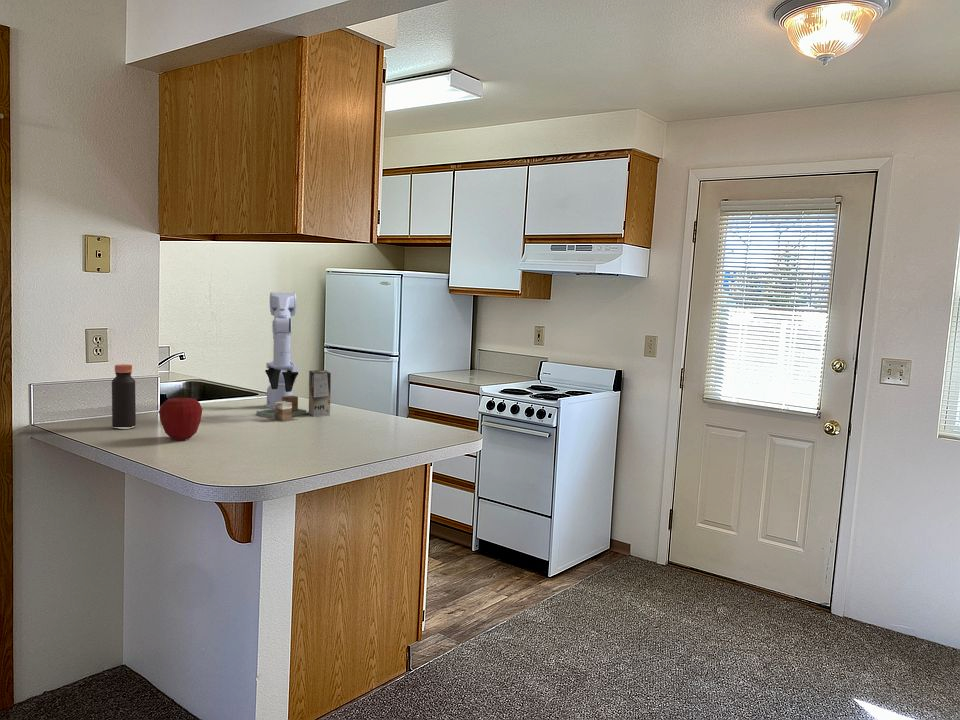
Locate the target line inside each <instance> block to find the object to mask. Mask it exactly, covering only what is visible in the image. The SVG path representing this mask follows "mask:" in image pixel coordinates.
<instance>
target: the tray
mask: <svg viewBox="0 0 960 720" xmlns="http://www.w3.org/2000/svg"><path fill="white" fill-rule="evenodd" d="M306 414H307V410H306V409H302V408H298V411H296V412H292V416H293V417H294V416H300V415H306ZM256 415H257V416H261V417H267V418H269V419H275V408H270V409H264V410H263V409H262V410H256Z"/></svg>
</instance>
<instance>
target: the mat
mask: <svg viewBox="0 0 960 720" xmlns="http://www.w3.org/2000/svg"><path fill="white" fill-rule="evenodd" d="M298 420H299V419H298V418H293V417H292V420H286V421H279V420H275V418H269V421H274V422H278V423H286V422H293V421H298Z"/></svg>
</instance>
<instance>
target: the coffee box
mask: <svg viewBox="0 0 960 720" xmlns="http://www.w3.org/2000/svg"><path fill="white" fill-rule="evenodd" d="M331 375H332V373H331V372H330V371H328V370H325V369H324V370H323V369H321V370H308V414H309V415H311V416H312V417H330V416H331V392H332V391H331V386H332V385H331V381H332V380H331V378H332V377H331Z"/></svg>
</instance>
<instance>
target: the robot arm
mask: <svg viewBox="0 0 960 720" xmlns="http://www.w3.org/2000/svg"><path fill="white" fill-rule="evenodd" d="M296 308H297V294H296V292H273V291H271V292H270V293H269V311H270V314H271V316H273V320H272V321H271V322H272V326H271V329H272V330H271V331H272V339H273V357H272V358H273V360H272V361H271V362H266V364H265V365H266V366H265V368H266V369H265V370H264V371H265V374H266V375H267V377H268V382H269V384H270V385H268V386H267V389H266V405H264V407H265V408H266V407H267V408H270V409H275V402H282V396H293V387H294V384H295V383H296V379H297V376H299V372H298V365H296V363H295V362H293V361H292V360H291V334H292V329H293V326H292V324H293V321H292V317H293V316H295V315H296V313H297V312H296V311H297V309H296Z"/></svg>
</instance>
